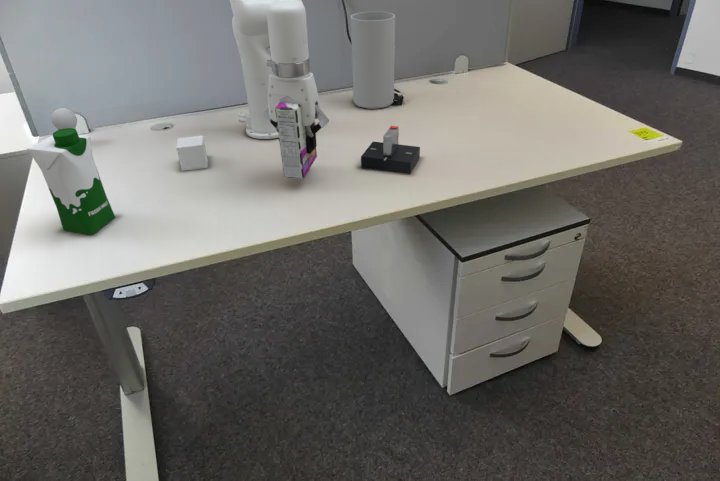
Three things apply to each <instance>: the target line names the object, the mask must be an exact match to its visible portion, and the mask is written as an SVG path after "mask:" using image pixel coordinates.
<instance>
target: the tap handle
mask: <svg viewBox="0 0 720 481" xmlns="http://www.w3.org/2000/svg"><path fill="white" fill-rule="evenodd" d="M399 128H400V127H399V126H398V125H390V126H389V128H388V129H387V131H385V133H384V134H383V135H382V138H383V139H382V143H383V156H388V157H392V155H393V154H394V152H395V151H396V149H397V148H398V144H399V135H400V133H399V130H400V129H399Z"/></svg>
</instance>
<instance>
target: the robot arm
mask: <svg viewBox="0 0 720 481" xmlns="http://www.w3.org/2000/svg"><path fill="white" fill-rule="evenodd" d="M229 4H230V8H231V11H232V15H233V16H232V18H231V27H232V28H231V29H232V33H233V36H234V39H235V43H236V46H237V49H238V53H239V57H240V63H241V69H242V75H243V81H244V87H245V88H244V89H245V94H246V95H245V96H246V102H247V106H248V113H247V112H239V113H238V122H239V123H242V124H243V123H245V124H246V128H245V133H246V135H247V136H249V137H250V138H253V139H256V140H273V139H279V135H278V127H277V119H276V112H275V107H276V106H277V105H278V104H279V103H280V102H287V103H295V104H300V106H301V116H302V125H303V126H305V129H306V131H307V134H308V135H307V136H306V147H307V153H308V154H311V152H312V151H313V150H314V149H315V148H316V149H317V144H318V143H317V133H318V132H319V131H320V130H321V129H323V128H324V127H325V126H326V125H328V123H329V122H330V119H329V118H328V116H327V115H326V114H325V113H324V111H323V110H322V109H321V108H320V99H319V93H318V88H317V82H316V80H315V75H314V74H313V72H311V68H310V67H311V64H310V53H309V52H310V50H309V38H308V24H307V12H306V6H305V5H304V3H303V1H302V0H229ZM269 49H270V52H269V51H268V50H269ZM317 119H318V121H319V122H317V123H316V121H315V120H317Z"/></svg>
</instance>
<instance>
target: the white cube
mask: <svg viewBox="0 0 720 481" xmlns="http://www.w3.org/2000/svg"><path fill="white" fill-rule="evenodd" d="M176 141H177V142H176V147H175V148H176V152H177V157H178V160H179V165H180V169H181V171H182V172H186V171H192V170H201V169H208V152H207V149H206V144H205V140H204V135H201V134H200V135H194V136H184V137H177V139H176Z"/></svg>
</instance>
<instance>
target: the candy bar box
mask: <svg viewBox="0 0 720 481" xmlns="http://www.w3.org/2000/svg"><path fill="white" fill-rule="evenodd" d="M275 112H276V119H277V127H278V135H279V137H278V141H279V150H280V157H281V164H282V165H281V166H282V173H283V177H284V178H286V179H300V180H304V179H305V178H306V176H307V174H308V172H309V171H310V169H311V167H312V166H313V164H314V162H315V160H316V159H317V157H318V155H317V147H316V148H315V149H314V150H313V151H312V152H311V154H308V153H307V147H306V136H307V135H308V134H307V131H306V129H305V126H303V125H302V116H301V106H300V104H295V103H287V102H280V103H279V104H278V105H277V106H276V107H275Z"/></svg>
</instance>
